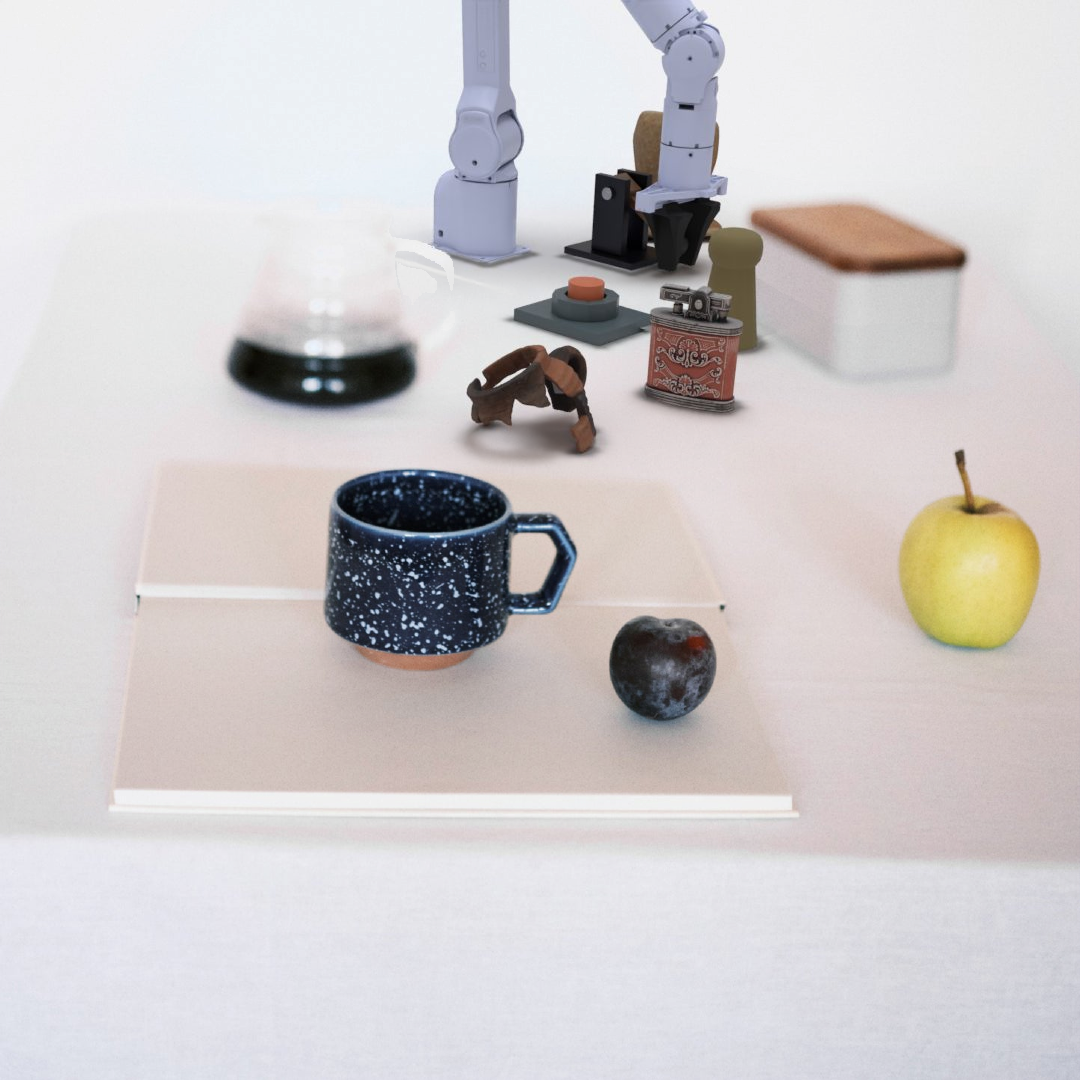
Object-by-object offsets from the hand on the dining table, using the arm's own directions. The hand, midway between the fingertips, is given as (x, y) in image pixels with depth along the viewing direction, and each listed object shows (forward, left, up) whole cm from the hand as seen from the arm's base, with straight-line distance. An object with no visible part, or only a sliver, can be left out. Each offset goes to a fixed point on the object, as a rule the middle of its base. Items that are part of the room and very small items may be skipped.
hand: (676, 266), depth 155 cm
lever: (-5, 0, +3) cm, 6 cm away
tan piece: (-12, +13, -1) cm, 18 cm away
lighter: (+25, -32, -1) cm, 40 cm away
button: (+5, -22, +2) cm, 23 cm away
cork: (+18, -16, -1) cm, 24 cm away
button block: (+5, -22, -1) cm, 23 cm away
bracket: (-8, 0, -1) cm, 8 cm away
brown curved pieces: (+21, -47, -1) cm, 51 cm away
